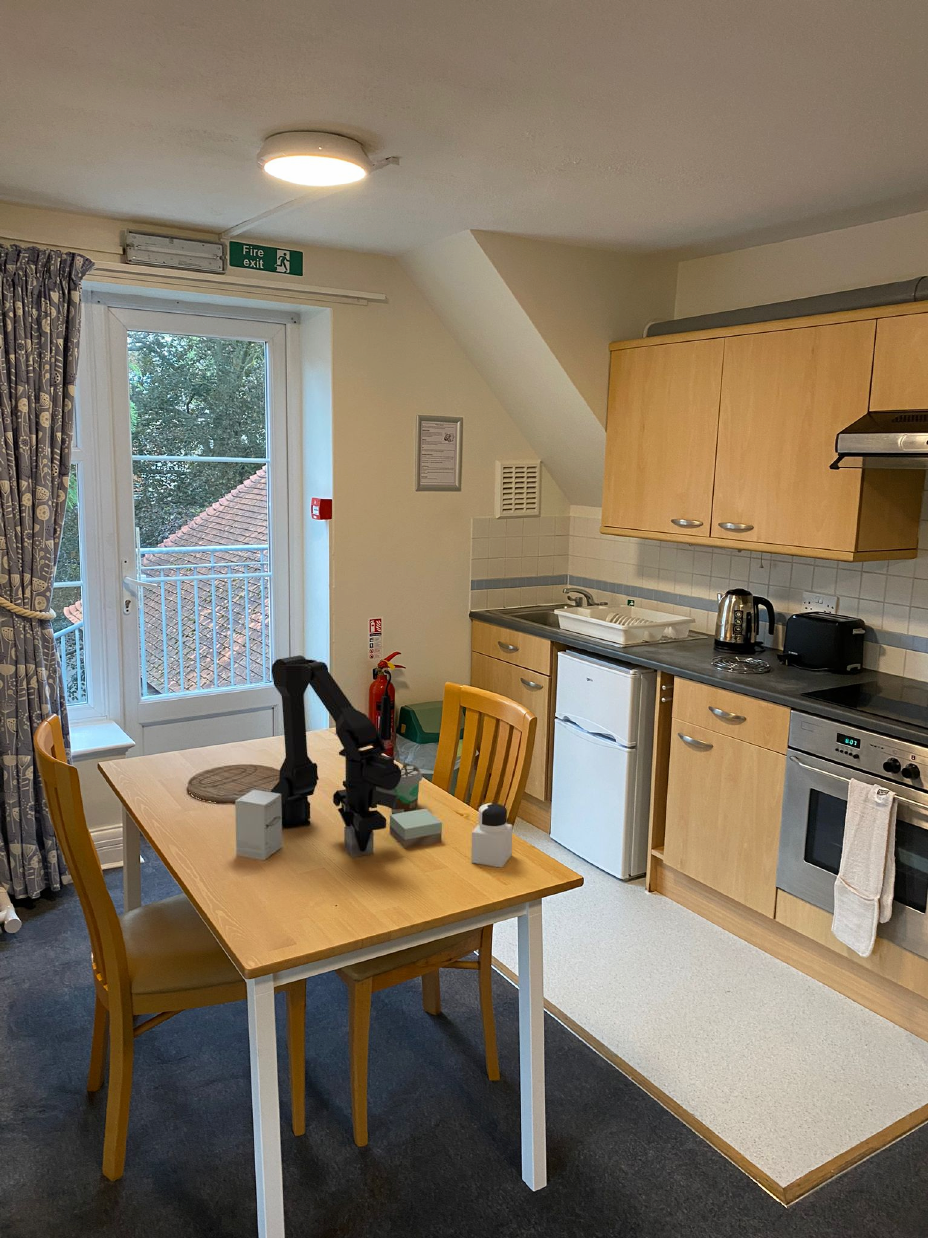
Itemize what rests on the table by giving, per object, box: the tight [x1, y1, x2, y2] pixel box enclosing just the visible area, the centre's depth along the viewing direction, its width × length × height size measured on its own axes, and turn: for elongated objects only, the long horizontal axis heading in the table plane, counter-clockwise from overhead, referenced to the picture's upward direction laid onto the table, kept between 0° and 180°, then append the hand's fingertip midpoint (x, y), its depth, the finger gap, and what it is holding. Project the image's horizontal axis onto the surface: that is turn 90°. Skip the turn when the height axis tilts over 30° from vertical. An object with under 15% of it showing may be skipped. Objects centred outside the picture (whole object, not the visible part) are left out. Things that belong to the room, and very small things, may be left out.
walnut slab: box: [389, 825, 443, 849], centre depth 212 cm, size 9×9×2 cm
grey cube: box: [343, 826, 375, 858], centre depth 204 cm, size 5×5×5 cm
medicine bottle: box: [470, 802, 513, 869], centre depth 201 cm, size 7×7×12 cm
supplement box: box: [234, 790, 283, 861], centre depth 202 cm, size 7×7×13 cm
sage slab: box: [389, 808, 443, 840], centre depth 212 cm, size 9×9×2 cm
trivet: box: [187, 763, 280, 804], centre depth 242 cm, size 25×25×2 cm
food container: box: [391, 762, 423, 814], centre depth 228 cm, size 12×6×10 cm, turn 168°
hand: (358, 846), depth 204 cm, fingers closed on grey cube, 5 cm apart
